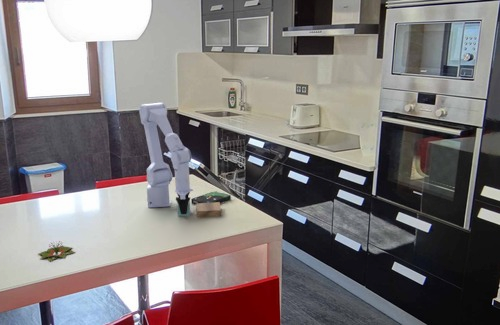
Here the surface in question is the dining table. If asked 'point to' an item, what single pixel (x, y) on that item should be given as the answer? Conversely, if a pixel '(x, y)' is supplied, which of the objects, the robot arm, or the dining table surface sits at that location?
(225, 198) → the disk drive
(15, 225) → the dining table surface
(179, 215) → the teal cube
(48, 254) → the lily flower
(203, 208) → the brown block
